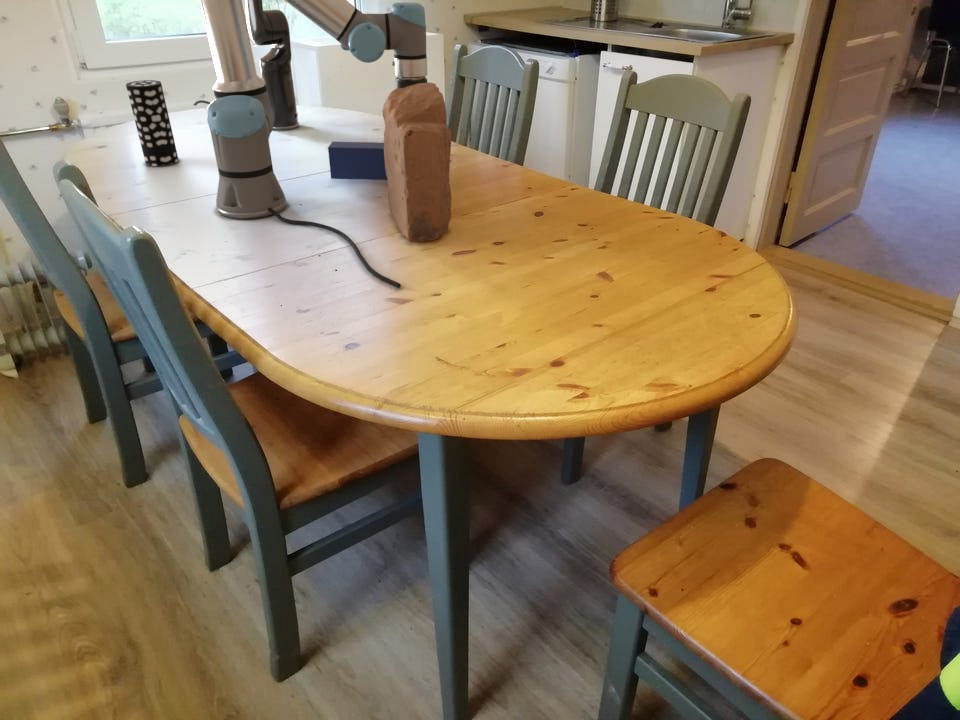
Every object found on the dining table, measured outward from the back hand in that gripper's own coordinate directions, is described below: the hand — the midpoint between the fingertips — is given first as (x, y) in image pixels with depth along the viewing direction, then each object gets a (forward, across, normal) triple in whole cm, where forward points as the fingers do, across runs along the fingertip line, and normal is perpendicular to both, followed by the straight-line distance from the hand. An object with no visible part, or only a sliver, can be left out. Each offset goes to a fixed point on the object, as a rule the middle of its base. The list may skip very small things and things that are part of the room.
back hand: (332, 25), depth 186 cm
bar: (+31, +28, +24) cm, 48 cm away
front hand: (+30, +25, +32) cm, 51 cm away
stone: (+32, +52, +44) cm, 75 cm away
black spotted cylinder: (+22, +31, -39) cm, 54 cm away
